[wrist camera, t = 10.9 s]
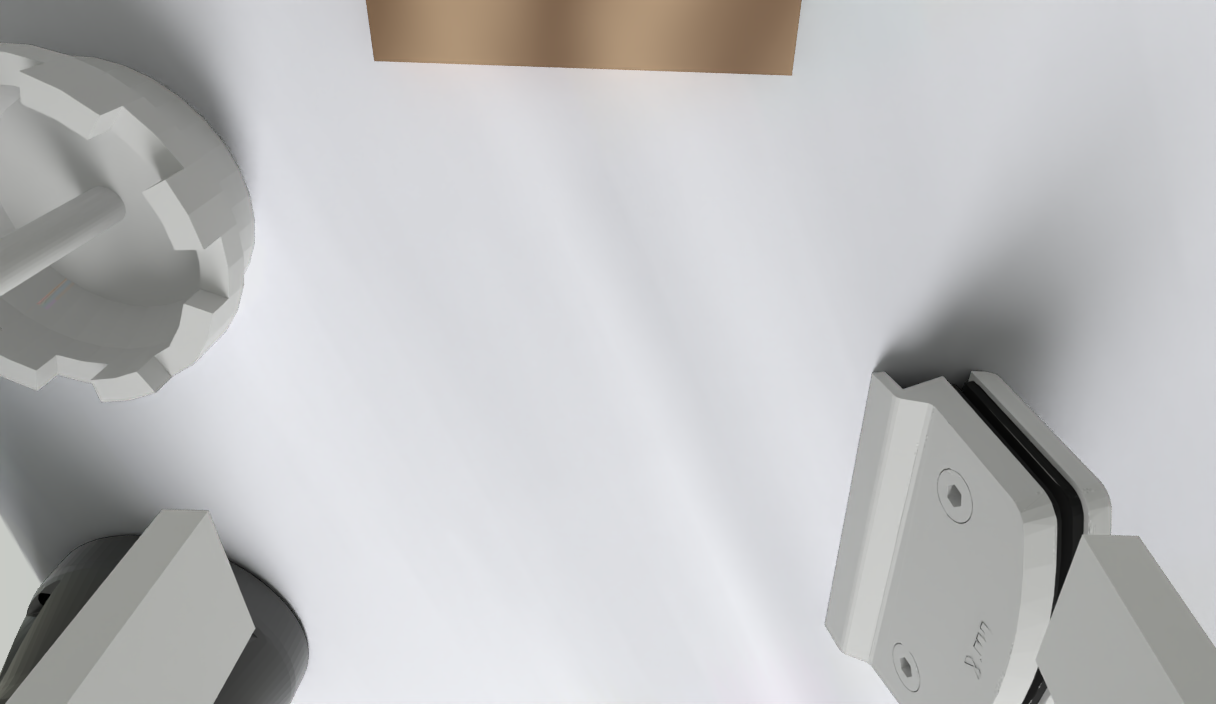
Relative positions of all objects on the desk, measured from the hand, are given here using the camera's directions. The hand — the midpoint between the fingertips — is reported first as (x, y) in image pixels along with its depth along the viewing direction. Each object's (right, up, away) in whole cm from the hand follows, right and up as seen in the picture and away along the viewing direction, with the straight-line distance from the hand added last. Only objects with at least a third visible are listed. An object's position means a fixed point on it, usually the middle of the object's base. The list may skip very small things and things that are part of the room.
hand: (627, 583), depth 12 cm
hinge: (+15, -4, +25) cm, 29 cm away
